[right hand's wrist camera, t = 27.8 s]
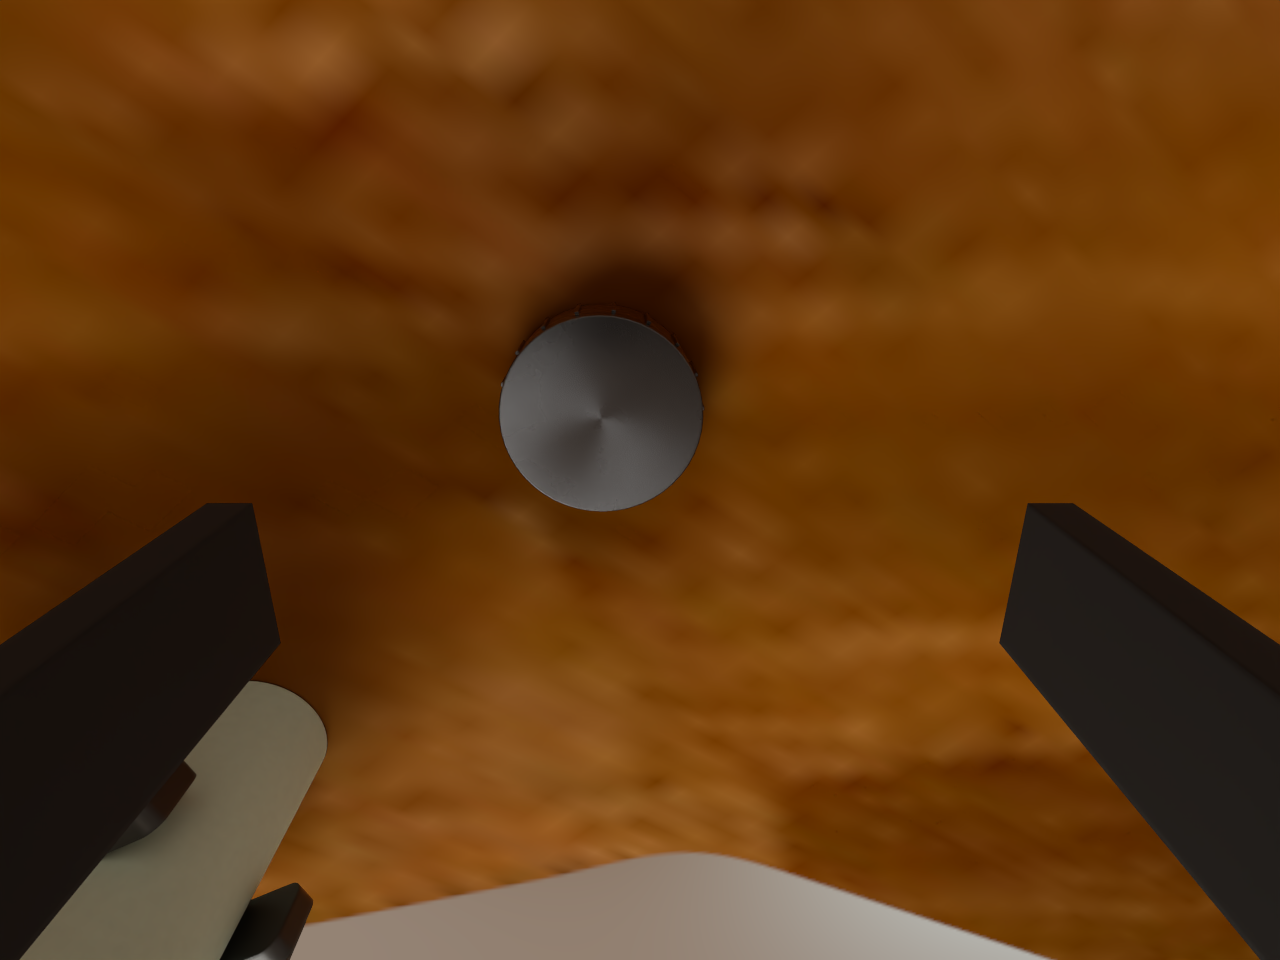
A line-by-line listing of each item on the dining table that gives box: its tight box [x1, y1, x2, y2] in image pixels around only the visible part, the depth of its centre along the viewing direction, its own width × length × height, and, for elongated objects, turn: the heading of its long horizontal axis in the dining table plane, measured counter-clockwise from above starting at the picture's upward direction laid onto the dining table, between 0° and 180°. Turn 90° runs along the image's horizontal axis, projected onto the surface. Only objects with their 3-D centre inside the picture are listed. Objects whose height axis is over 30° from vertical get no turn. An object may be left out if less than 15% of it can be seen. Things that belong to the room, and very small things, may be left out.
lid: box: [499, 302, 704, 511], centre depth 21 cm, size 6×6×2 cm
